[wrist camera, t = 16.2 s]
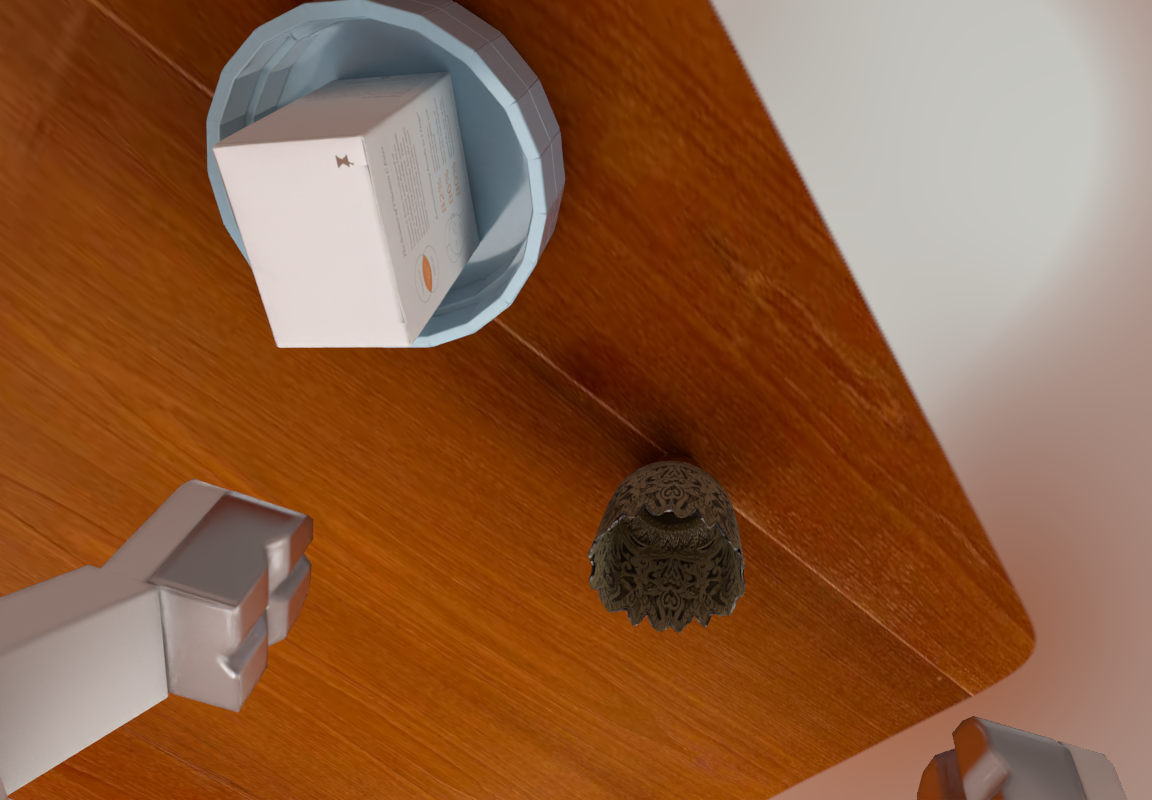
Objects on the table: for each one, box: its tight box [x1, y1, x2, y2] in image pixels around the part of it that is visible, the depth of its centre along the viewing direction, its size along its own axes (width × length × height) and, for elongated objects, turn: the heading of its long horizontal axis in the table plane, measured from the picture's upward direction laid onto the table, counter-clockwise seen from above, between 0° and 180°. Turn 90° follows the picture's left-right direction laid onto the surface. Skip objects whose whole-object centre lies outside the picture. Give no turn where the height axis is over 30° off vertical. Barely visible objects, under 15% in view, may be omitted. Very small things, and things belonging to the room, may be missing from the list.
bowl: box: [206, 0, 565, 348], centre depth 36 cm, size 14×14×5 cm
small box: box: [212, 71, 480, 348], centre depth 34 cm, size 8×6×10 cm
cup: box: [587, 454, 745, 633], centre depth 42 cm, size 8×7×8 cm
